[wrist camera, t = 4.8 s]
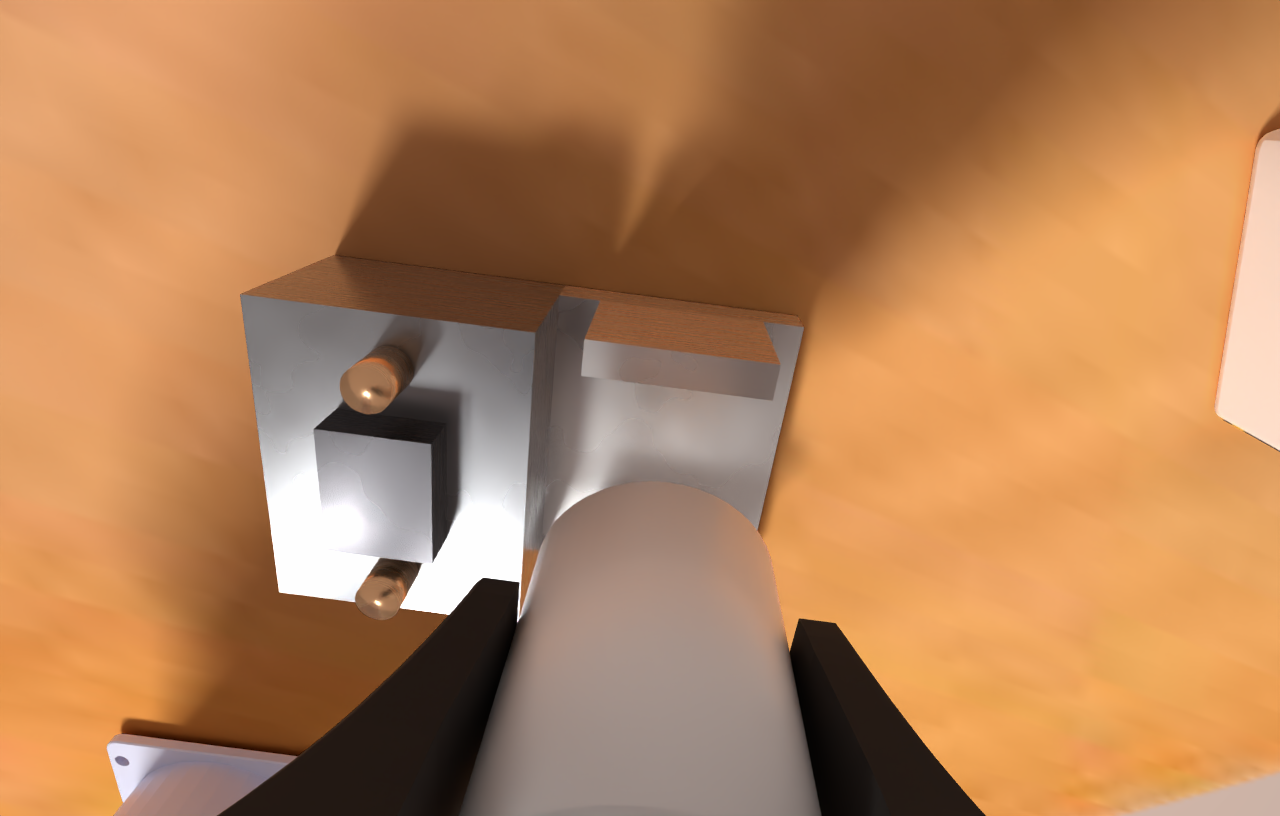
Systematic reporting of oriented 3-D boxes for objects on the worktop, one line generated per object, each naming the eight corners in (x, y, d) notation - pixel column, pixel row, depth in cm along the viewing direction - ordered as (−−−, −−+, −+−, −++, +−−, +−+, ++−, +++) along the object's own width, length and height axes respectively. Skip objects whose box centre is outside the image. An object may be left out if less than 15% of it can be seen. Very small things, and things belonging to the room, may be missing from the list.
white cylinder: (752, 680, 14) (812, 1171, 8) (533, 657, 14) (412, 1126, 8) (794, 495, 12) (924, 953, 6) (539, 468, 12) (381, 892, 6)
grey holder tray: (743, 556, 20) (764, 693, 15) (351, 505, 20) (250, 626, 15) (797, 315, 17) (843, 393, 12) (333, 255, 17) (201, 310, 12)
